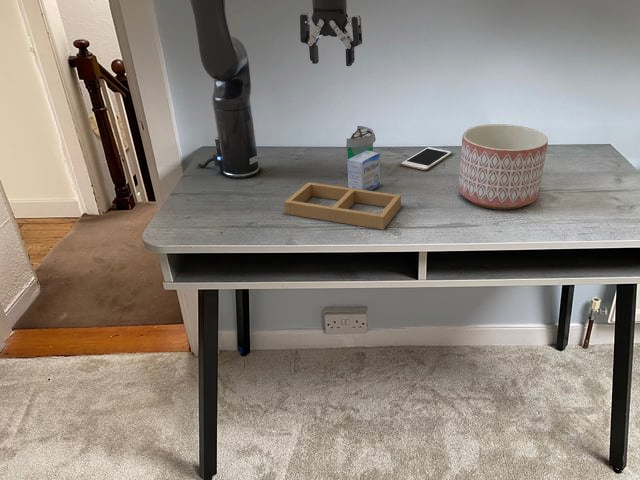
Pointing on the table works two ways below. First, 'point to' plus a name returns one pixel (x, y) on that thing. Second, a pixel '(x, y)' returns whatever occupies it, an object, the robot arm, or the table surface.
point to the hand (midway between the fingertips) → (332, 64)
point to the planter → (501, 165)
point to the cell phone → (426, 158)
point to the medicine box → (364, 171)
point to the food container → (360, 141)
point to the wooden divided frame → (343, 205)
